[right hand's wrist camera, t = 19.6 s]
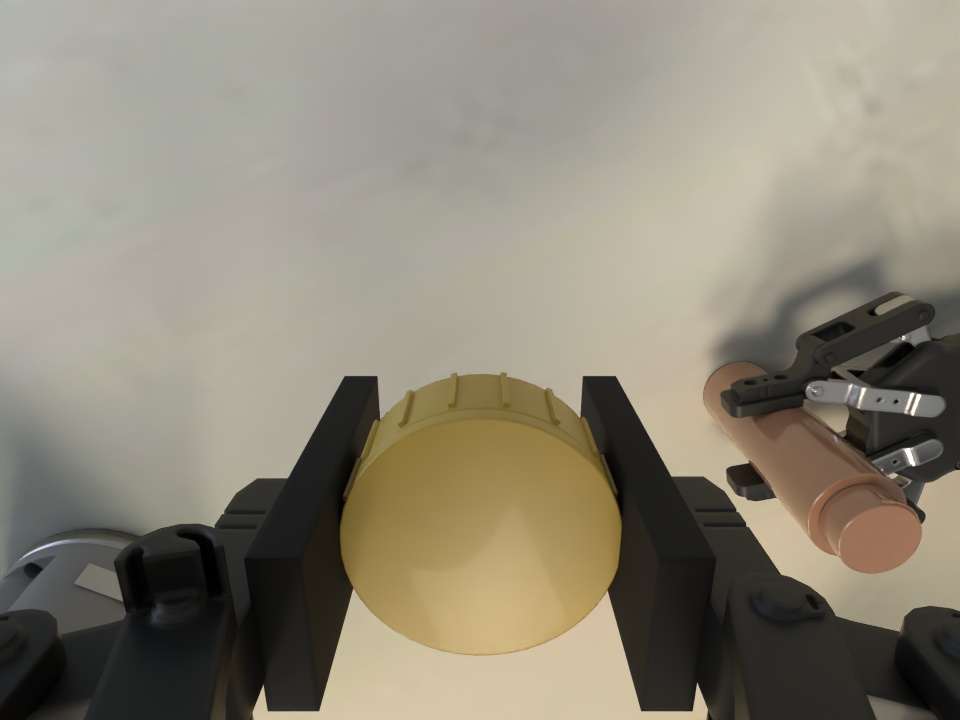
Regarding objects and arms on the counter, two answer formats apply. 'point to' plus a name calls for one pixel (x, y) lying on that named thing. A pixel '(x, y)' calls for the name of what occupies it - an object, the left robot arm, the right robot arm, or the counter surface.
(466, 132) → the counter surface
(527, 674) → the counter surface
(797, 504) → the jar
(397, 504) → the lid
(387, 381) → the counter surface
